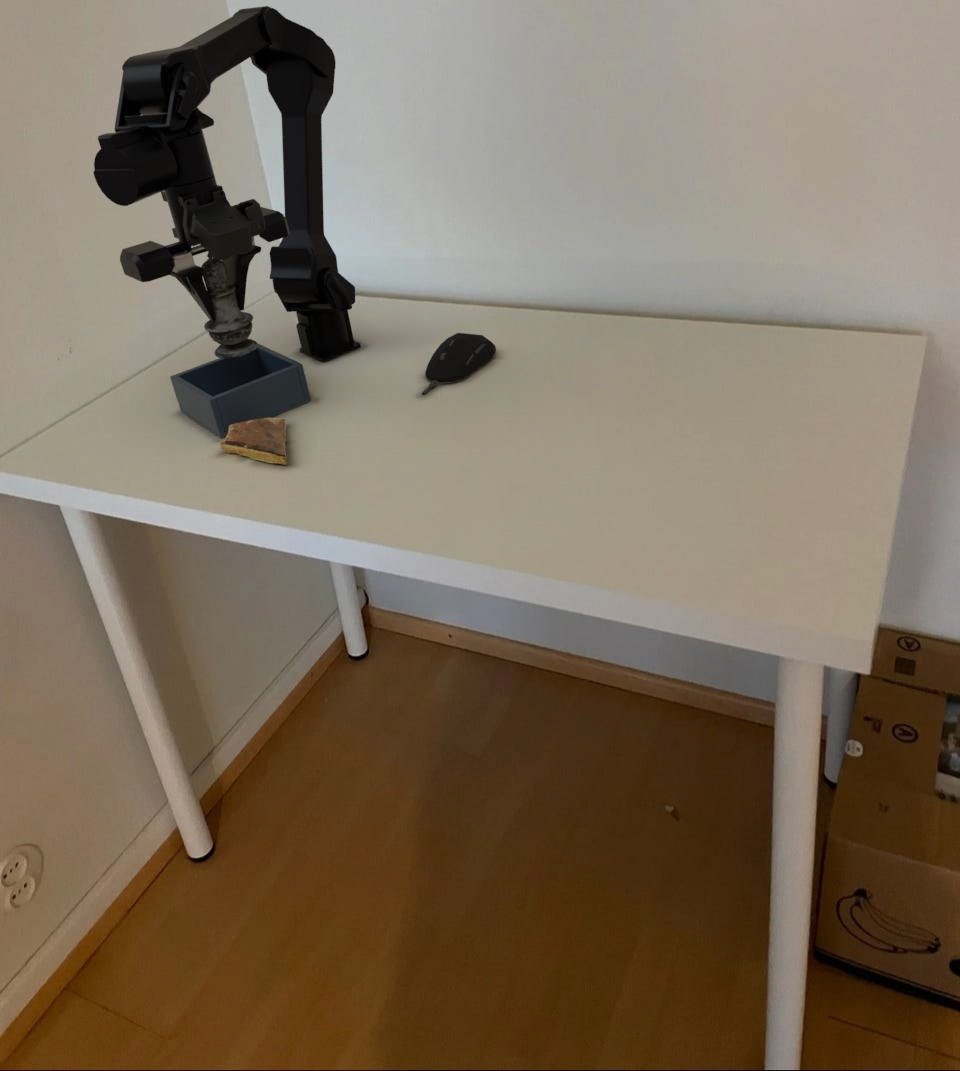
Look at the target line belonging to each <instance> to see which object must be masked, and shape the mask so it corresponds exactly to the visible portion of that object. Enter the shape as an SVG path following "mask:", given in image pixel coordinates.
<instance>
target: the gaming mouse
mask: <svg viewBox="0 0 960 1071" xmlns="http://www.w3.org/2000/svg"><path fill="white" fill-rule="evenodd" d="M496 354H497V347H496V344H494V342H492V341H491V340H490V339H489V338H487V337H486V336H484V335H483V334H475V333H466V332H456V333H454V334H452V335H451V336H449V337H447V338H445V340H443V342H442V343H440V344H439V346H438V347H437V348H436V350H435V351H434V352H433V354H432V355H431V357H430V359H429V360H428V363H427V366H426V369H425V373H424V374H425V379H427V380H428V381H431V382H430V383H429V384H428V386H427V387H426V388H425V389H424V390H423V391H422V392H421V394H422V395H423V396H425V395H426V394H427V393H428V392H429V391H430V390H432V389H434V388H435V387H436V385H438V383H441V384H446V383H457V382H460V381H462V380H464V379H466V378H467V377H470V375H472V374H473V373H475V372H477V371H478V370H479V369H480V368H482V367H483V366H486V365H487V363H489V362H490V361H492V360H493V358H494V357H495V355H496Z"/></svg>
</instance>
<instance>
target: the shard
mask: <svg viewBox="0 0 960 1071" xmlns="http://www.w3.org/2000/svg"><path fill="white" fill-rule="evenodd" d="M286 442H287V424H286V419H285V418H283V417H271V418H269V417H268V418H260V419H256V420H250V421H244V422H238V423H234V424H232V425H230V426H229V430H228V434H227V436H226V437H224V439H223V441H221V442H220V444H219V446H220V448H221V449H222V451H224V452H226V454H237V455H240V456H242V457H247V458H250V459H252V460H255V461H260V462H264V463H266V464H278V465H284V466H285V465H287V464H288V462H287V452H286Z"/></svg>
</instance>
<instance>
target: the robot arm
mask: <svg viewBox="0 0 960 1071" xmlns="http://www.w3.org/2000/svg"><path fill="white" fill-rule="evenodd" d="M249 58H250V61H251V63H252V65H253V66H254V67H255V68H257V69H258V70H259V71H260V72H262V73H263V74H264V75H265V76H266V84H267V90H268V93H269V95H270V96H271V98H272V100H273V102H274V103H275V105H276V107H277V109H278V110H279V112H280V116H281V138H282V139H281V140H282V167H283V168H282V169H283V172H282V173H283V199H284V200H283V202H284V203H283V204H284V213H282V212H280V211H279V210H274V209H270V208H268V207H263V206H261V204H260V203H259V202H258V201H257V200H256V199H255V198H251V199H248V200H244V201H240V202H239V203H237V204H234V205H231V203H230V202H229V200H228V199H227V195H226V193H225V191H224V189H223V186H222V185H219V184H218V183H217V179H216V175H215V172H214V169H213V165H212V161H211V158H210V157H211V156H210V153H209V150H208V146H207V142H206V139H205V135H204V131H203V130H204V129H207V128H210V127H213V126H214V125H215V120H214V119H213V118H212V117H211V116H209V115H208V114H206V113H204V112H203V111H201V110H200V109H199V108H198V107H200V105H201V104H202V103H203V101H205V99H206V98H207V97H208V96H209V95H210V93H211V89H212V84H213V82H215V81H216V80H217V79H218V78H219V77H221V76H222V75H225V74H226V73H227V72H229V71H231V70H232V69H234V68H236V67H237V66H238V65H240V64H241V63H243V62H245V61H246V60H248V59H249ZM336 63H337V62H336V57H335V53H334V50H333V48H332V47H330V46H329V44H328V43H327V42H326V40H325V39H324V38H323V37H321V36H319V35H318V34H317V33H316V32H314V31H313V30H312V29H311V28H308V27H305V25H304V26H303V25H301V24H300V23H297V22H295V21H293V20H290V19H288V18H286V17H285V16H284V15H283V14H282V13H281V12H279V11H278V10H277V9H276V8H274V7H271V6H268V5H265V6H256V7H247V8H241V9H238V10H237V11H236V12H235V13H234V14H233V15H232V16H231V17H229V18H227V19H226V20H223V21H222V22H219V24H217V25H215V26H213V27H212V28H210V29H208V30H206V31H204V32H202V33H201V34H199V35H198V36H196V37H194V38H191V40H188V41H187V42H185V43H183V44H181V45H180V46H176V47H172V48H166V49H161V50H156V51H150V52H145V53H141V54H135V55H131V56H129V57H128V58H127V59H126V60H125V61H124V62H123V64H122V67H121V69H122V71H123V72H122V78H121V85H120V90H119V95H118V96H119V97H118V102H117V110H116V116H115V122H114V132H107V133H103V134H100V135H98V136H97V142H98V143H99V144H98V145H99V147H100V149H99V150H98V151H97V152H96V154H95V157H94V161H93V170H94V171H93V177H94V180H95V182H96V184H97V186H98V187H99V189H100V191H101V192H102V194H103V195H104V196H105V197H106V198H107V199H108V200H109V201H111V202H112V203H114V204H116V205H118V206H122V207H128V206H131V205H133V204H135V203H138V202H141V201H142V200H145V199H147V198H150V197H153V196H154V195H156V194H159V193H160V194H161V198H162V201H163V202H166V203H167V204H168V208H169V211H170V215H171V218H172V221H173V225H174V227H172V228H171V230H172V234H173V238H175V239H178V241H177V242H176V241H175V242H172V243H170V244H167V245H163V244H160V243H158V242H155V241H153V240H148V241H145V242H141V243H138V244H135V245H132V246H129V247H125V248H123V249H122V250H121V253H120V255H119V262H120V264H121V268H122V271H123V273H124V275H125V276H127V277H129V278H132V279H134V280H136V281H139V282H141V283H148V282H152V281H154V280H158V279H161V278H165V277H167V276H170V277H173V278H175V279H176V280H177V281H178V282H179V284H181V285H182V286H183V288H185V289H186V291H187V292H188V293H189V295H190V296H191V298H193V300H194V302H195V303H196V304H197V305H198V307H199V308H200V309H201V311H202V312H203V313H204V314H205V316H206V317H207V318H208V319H209V320H212V321H214V320H215V314H214V309H213V306H212V303H211V301H210V298H209V295H208V292H207V289H206V285H205V282H204V278H203V268H202V267H201V266H200V265H197V264H196V263H195V260H194V256H197V255H201V254H203V253H208V252H209V253H210V255H211V256H212V258H214V259H217V260H221V261H223V262H224V264H225V266H226V270H227V273H228V277H229V281H230V284H231V285H232V286H234V287H235V290H234V291H233V293H234V296H235V300H236V303H237V306H238V307H239V309H240V311H241V312H243V311H244V310H245V304H246V303H245V302H246V291H247V282H248V281H247V278H248V274H249V268H250V265H251V263H252V260H253V259H254V257H255V256H256V255H258V254H260V253H261V252H262V247H261V246H259V245H256V243H255V237H257V236H259V238H260V239H262V240H263V241H265V242H267V243H272V242H274V241H275V242H276V241H277V240H281V241H280V243H279V245H278V246H277V245H274V246H271V247H270V250H269V260H270V273H269V279H270V280H272V287H273V291H274V293H275V294H277V296H278V298H279V301H280V302H281V303H282V305H283V306H282V307H284V309H285V311H286V313H292V312H293V313H294V312H295V314H296V318H297V322H298V323H296V326H295V328H296V332H297V335H298V339H299V343H300V344H299V345H300V347H299V352H300V353H301V354H304V355H306V356H308V357H310V358H313V359H315V360H317V361H320V362H326V361H328V360H331V359H333V358H336V357H338V356H341V355H344V354H347V353H349V352H351V351H354V350H356V349H359V348H361V346H362V345H361V342H359V341H357V340H355V339H354V335H353V330H352V324H351V319H350V316H349V310H351V309H353V305H354V304H355V303H356V286H355V285H354V284H353V283H352V282H350V281H349V280H348V279H347V278H346V277H344V276H343V275H342V274H341V273H340V272H339V268H338V260H337V255H336V253H335V251H334V250H333V248H332V246H331V245H330V242H329V240H328V239H327V237H326V235H325V227H324V226H325V225H324V224H325V223H324V222H325V221H324V219H325V218H324V181H323V180H324V179H323V178H324V177H323V176H324V175H323V172H324V171H323V135H322V134H323V132H322V131H323V130H322V117H323V114H324V112H325V110H326V109H327V106H328V104H329V102H330V101H331V98H332V96H333V94H334V87H335V75H336V74H335V73H336V65H337V64H336Z"/></svg>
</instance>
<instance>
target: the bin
mask: <svg viewBox="0 0 960 1071" xmlns="http://www.w3.org/2000/svg"><path fill="white" fill-rule="evenodd" d="M257 344H258V346H257V348H256V349H255V350H254V351H252V352H251V353H248V354H246V355H243V356H240V357H235V358H219V357H217V358H215V359H213V360H210V361H208V362H205V363H202V364H199V365H197V366H195V367H194V366H193V367H192V368H189V369H186V370H184V371H181V372H179V373H175V374H172V375H170V376H169V378H170V379H169V380H170V381H171V384H172V387H173V391H174V393H175V398H176V400H177V403H178V407H179V409H180V413H182V414H183V415H184V416H186V417H188V418H189V419H190V420H192V421H194V422H195V423H196V424H199V425H200V426H202V427H203V428H204V429H206V430H207V431H209V432H211V433H212V434H214V435H215V436H216V437H218V438H220V439H224V438H226V436H227V434H228V430H229V426H230V425H232V424H234V423H238V422H244V421H250V420H256V419H260V418H268V417H269V418H275V417H276V416H278V415H281V414H284V413H286V412H288V411H290V410H293V409H295V408H298V407H300V406H302V405H305V404H308V403H310V402H312V397H311V394H310V390H309V385H308V381H307V377H306V374H305V368H304V365H303V363H301V362H299V361H297V360H295V359H293V358H291V357H288V356H286V355H284V354H282V353H279V352H277V351H275V350H273V349H271V348H269V347H267V346H265V345H262V344H260V343H257Z"/></svg>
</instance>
